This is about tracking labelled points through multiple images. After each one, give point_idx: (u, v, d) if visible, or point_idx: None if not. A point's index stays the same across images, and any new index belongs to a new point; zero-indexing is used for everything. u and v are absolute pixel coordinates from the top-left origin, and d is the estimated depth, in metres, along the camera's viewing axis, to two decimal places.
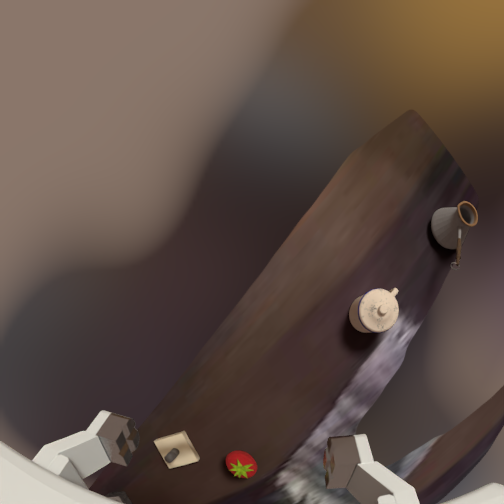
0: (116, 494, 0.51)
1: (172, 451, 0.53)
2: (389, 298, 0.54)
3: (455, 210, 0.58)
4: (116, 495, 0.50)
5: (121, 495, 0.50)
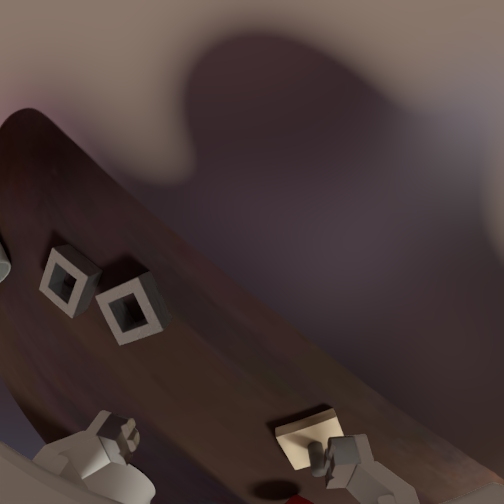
0: (159, 309, 0.30)
1: None
2: None
3: None
4: (160, 315, 0.29)
5: None
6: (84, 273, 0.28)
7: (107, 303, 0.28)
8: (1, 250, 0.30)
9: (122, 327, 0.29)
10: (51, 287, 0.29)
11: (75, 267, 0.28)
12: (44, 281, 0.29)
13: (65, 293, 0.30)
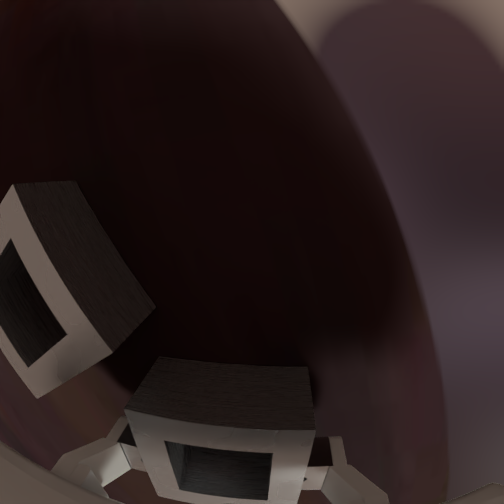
0: None
1: None
2: None
3: None
4: None
5: None
6: (101, 336, 0.07)
7: (163, 440, 0.08)
8: None
9: (181, 475, 0.09)
10: None
11: (70, 297, 0.07)
12: None
13: (27, 318, 0.09)
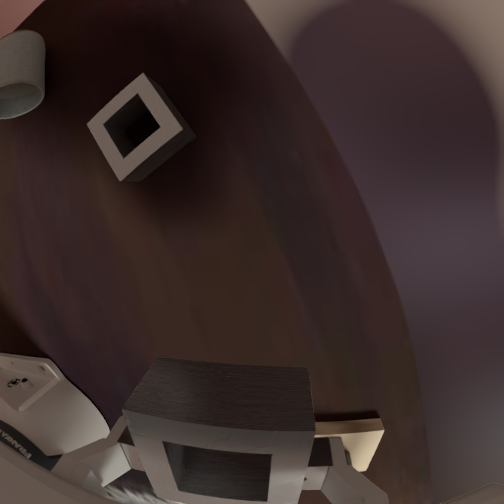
0: None
1: None
2: None
3: None
4: None
5: None
6: (178, 123, 0.18)
7: (161, 440, 0.08)
8: (42, 72, 0.19)
9: (179, 476, 0.09)
10: (107, 127, 0.19)
11: (167, 109, 0.18)
12: (102, 115, 0.19)
13: (123, 144, 0.21)
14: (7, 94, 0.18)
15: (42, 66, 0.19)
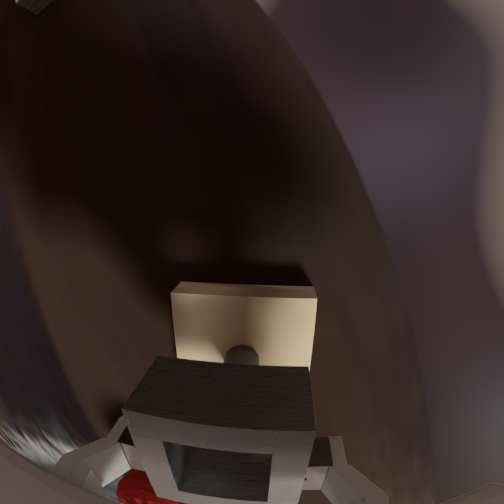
0: None
1: None
2: None
3: None
4: None
5: None
6: None
7: (161, 440, 0.08)
8: None
9: (180, 476, 0.09)
10: None
11: None
12: None
13: None
14: None
15: None
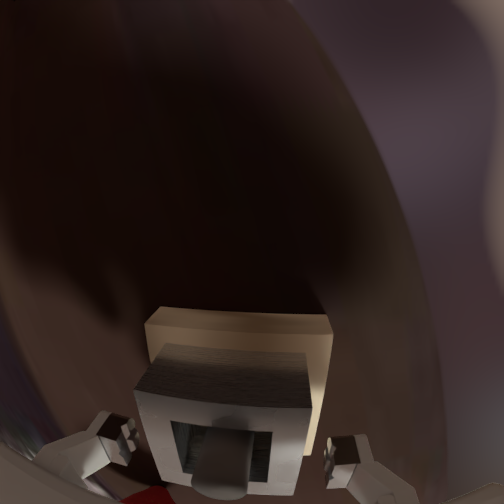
0: None
1: None
2: None
3: None
4: None
5: None
6: None
7: (170, 420, 0.09)
8: None
9: (184, 458, 0.10)
10: None
11: None
12: None
13: None
14: None
15: None
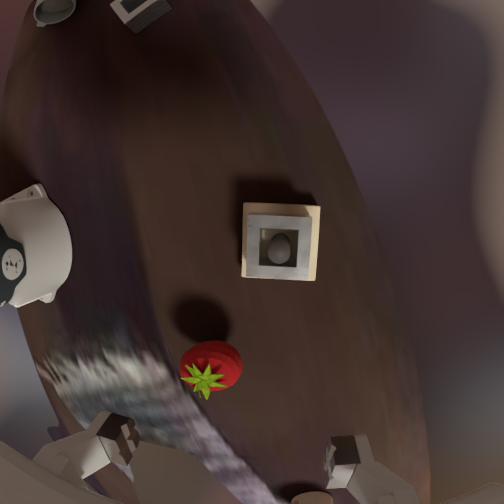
0: None
1: None
2: None
3: None
4: None
5: None
6: None
7: (259, 228, 0.28)
8: None
9: (259, 259, 0.29)
10: (121, 5, 0.26)
11: None
12: None
13: None
14: (51, 7, 0.25)
15: None
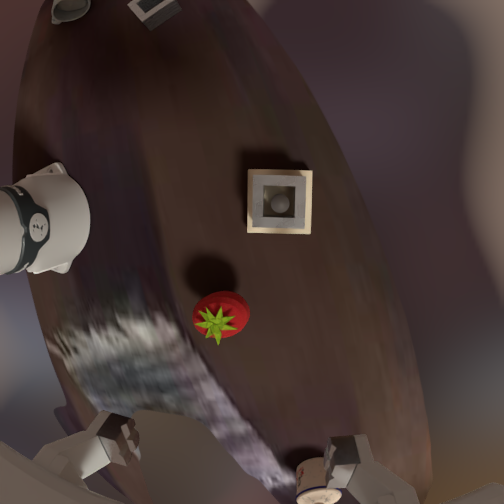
0: None
1: None
2: None
3: None
4: None
5: None
6: None
7: (263, 185, 0.33)
8: None
9: (263, 212, 0.34)
10: (138, 5, 0.30)
11: None
12: (136, 0, 0.30)
13: None
14: (67, 6, 0.29)
15: None
